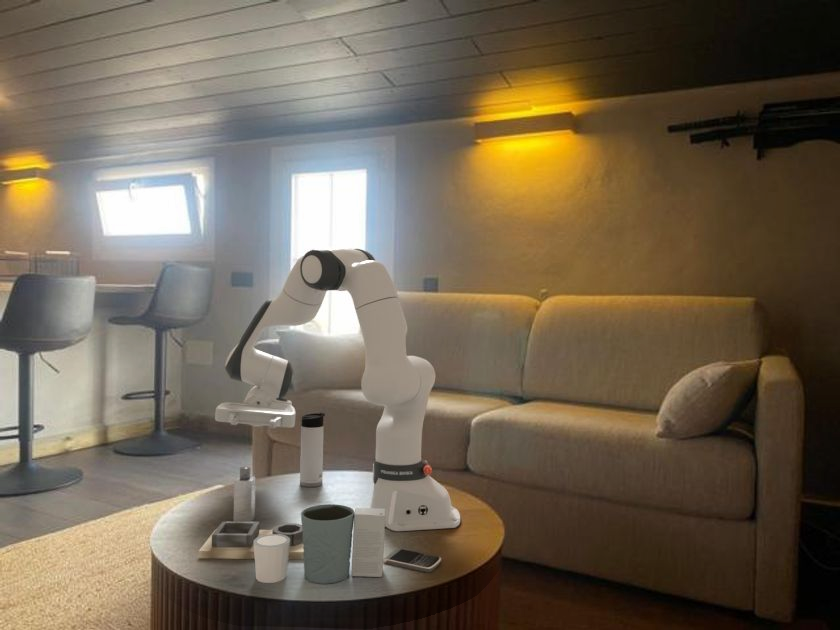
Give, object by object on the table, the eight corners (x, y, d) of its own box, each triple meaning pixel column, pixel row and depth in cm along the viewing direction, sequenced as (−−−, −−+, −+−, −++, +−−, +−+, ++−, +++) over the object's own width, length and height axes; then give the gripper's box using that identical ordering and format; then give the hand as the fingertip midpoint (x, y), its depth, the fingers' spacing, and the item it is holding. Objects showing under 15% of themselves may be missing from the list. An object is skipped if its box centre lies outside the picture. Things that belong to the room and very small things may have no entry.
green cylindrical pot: (295, 584, 118) (296, 520, 118) (306, 562, 128) (306, 502, 128) (350, 585, 118) (351, 521, 118) (356, 563, 128) (357, 503, 128)
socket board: (315, 537, 142) (316, 519, 142) (308, 559, 130) (309, 539, 130) (215, 536, 141) (215, 518, 141) (198, 558, 129) (198, 538, 129)
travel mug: (326, 485, 180) (328, 414, 180) (304, 488, 177) (305, 416, 177) (318, 479, 186) (320, 411, 185) (296, 482, 183) (298, 412, 182)
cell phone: (430, 575, 125) (431, 568, 125) (380, 564, 129) (380, 557, 129) (443, 564, 130) (443, 557, 130) (394, 553, 135) (394, 547, 135)
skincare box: (382, 568, 126) (386, 508, 126) (382, 577, 122) (386, 515, 122) (351, 567, 126) (355, 506, 126) (350, 576, 122) (354, 514, 122)
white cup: (256, 568, 125) (256, 533, 125) (291, 568, 125) (292, 533, 125) (249, 584, 118) (249, 547, 118) (287, 584, 118) (287, 546, 118)
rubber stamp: (254, 517, 153) (255, 465, 153) (250, 523, 149) (251, 470, 149) (237, 517, 153) (238, 465, 153) (233, 523, 149) (234, 470, 149)
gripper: (220, 394, 171) (211, 407, 158) (297, 401, 175) (295, 414, 161) (217, 417, 172) (208, 432, 158) (294, 423, 175) (292, 439, 162)
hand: (253, 423), depth 160 cm, fingers open, 8 cm apart
